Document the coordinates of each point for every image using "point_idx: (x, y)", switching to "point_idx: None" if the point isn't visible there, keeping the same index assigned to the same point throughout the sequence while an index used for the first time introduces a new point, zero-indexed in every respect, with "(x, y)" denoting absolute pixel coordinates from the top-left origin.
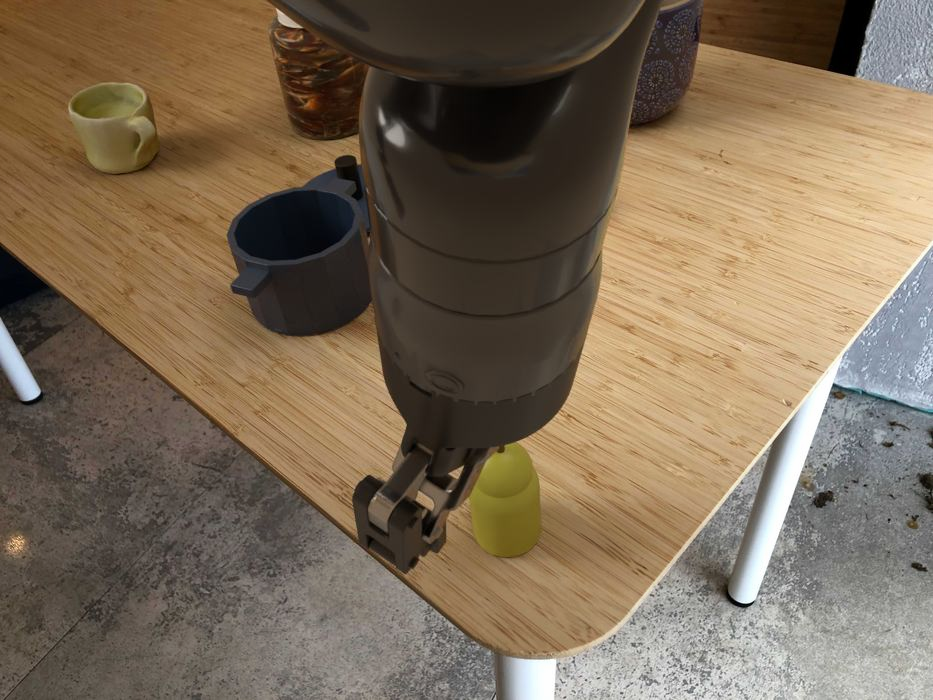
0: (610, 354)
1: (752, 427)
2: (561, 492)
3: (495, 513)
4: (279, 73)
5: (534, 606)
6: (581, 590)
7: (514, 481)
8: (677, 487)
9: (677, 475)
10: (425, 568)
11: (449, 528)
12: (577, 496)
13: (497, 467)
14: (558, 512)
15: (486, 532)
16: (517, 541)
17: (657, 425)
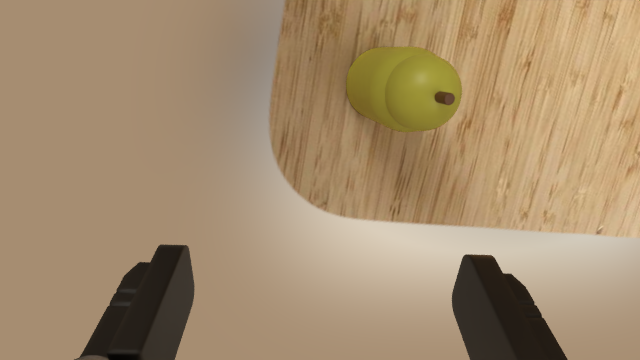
0: (618, 59)
1: (566, 219)
2: None
3: (372, 105)
4: None
5: (318, 153)
6: (353, 180)
7: (409, 125)
8: (484, 196)
9: (496, 190)
10: (298, 34)
11: (351, 28)
12: None
13: (415, 105)
14: None
15: (356, 87)
16: (365, 115)
17: (544, 148)
